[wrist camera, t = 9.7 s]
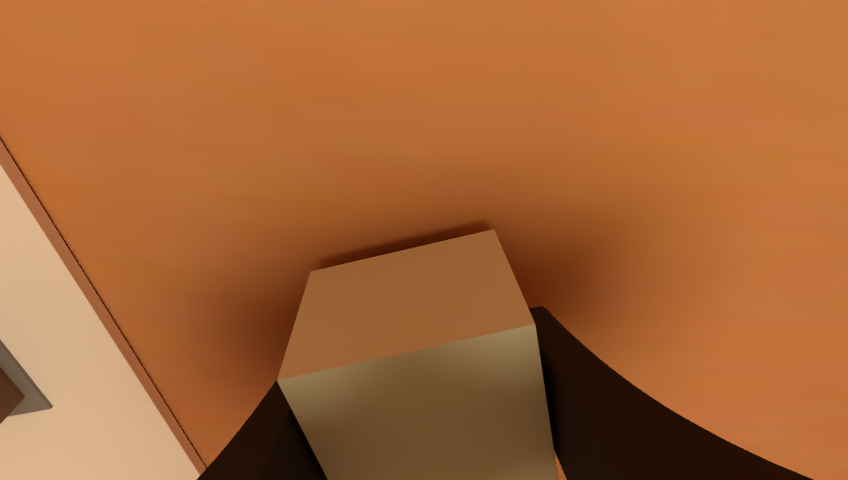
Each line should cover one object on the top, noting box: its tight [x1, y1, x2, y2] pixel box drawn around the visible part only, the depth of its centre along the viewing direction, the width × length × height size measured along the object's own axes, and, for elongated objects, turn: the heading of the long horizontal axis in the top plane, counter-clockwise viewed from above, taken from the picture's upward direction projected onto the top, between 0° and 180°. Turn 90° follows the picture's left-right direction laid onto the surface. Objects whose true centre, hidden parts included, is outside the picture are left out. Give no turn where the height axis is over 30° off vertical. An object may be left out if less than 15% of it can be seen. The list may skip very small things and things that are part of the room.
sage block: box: [277, 229, 558, 480], centre depth 12 cm, size 5×5×4 cm
